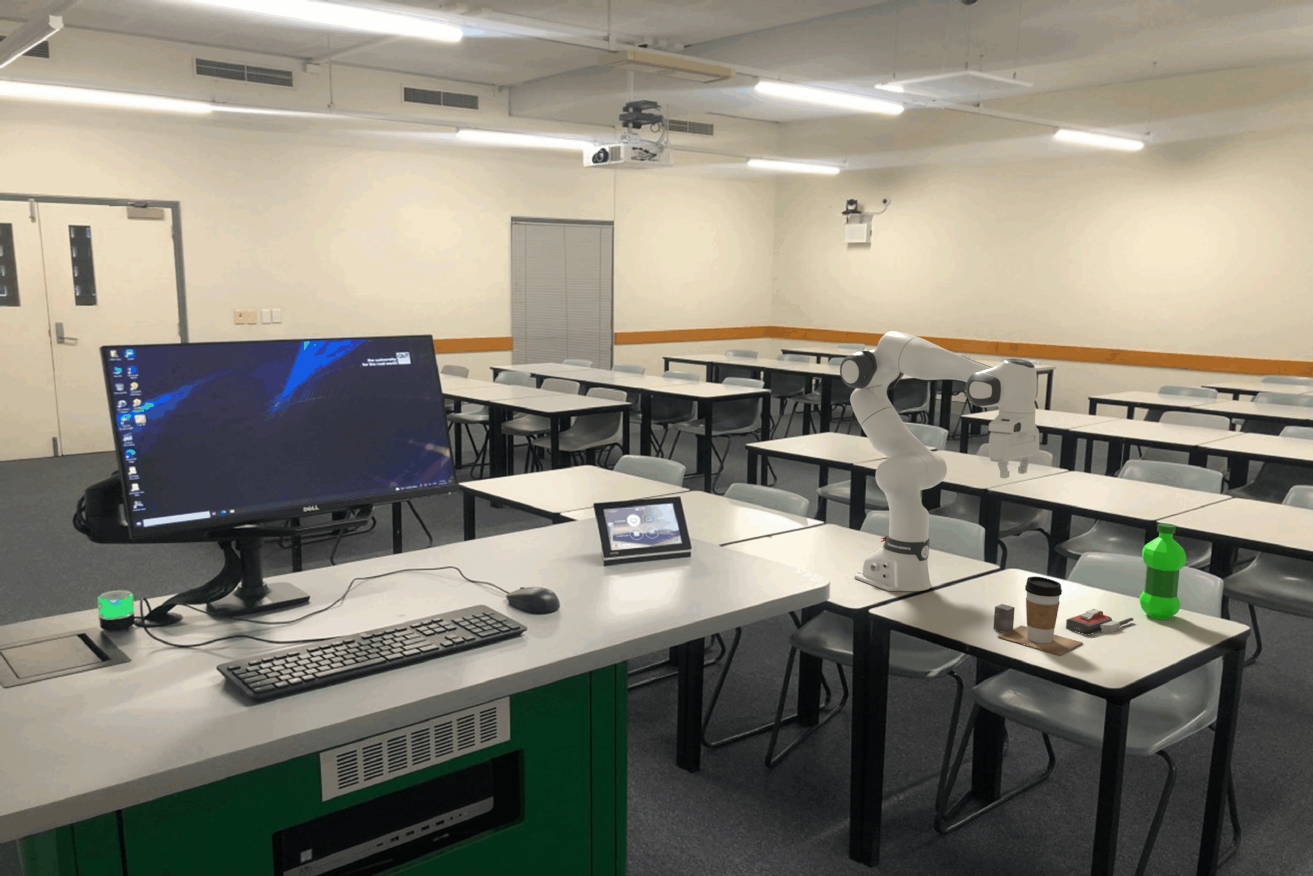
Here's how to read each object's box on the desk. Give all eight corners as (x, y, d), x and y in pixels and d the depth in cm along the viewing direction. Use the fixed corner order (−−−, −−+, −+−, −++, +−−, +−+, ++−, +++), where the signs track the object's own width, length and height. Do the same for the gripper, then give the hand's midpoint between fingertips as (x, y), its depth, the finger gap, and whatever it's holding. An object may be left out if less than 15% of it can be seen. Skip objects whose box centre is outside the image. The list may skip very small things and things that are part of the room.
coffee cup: (1030, 630, 244) (1034, 573, 242) (1063, 639, 238) (1068, 581, 236) (1015, 638, 238) (1019, 580, 236) (1049, 648, 232) (1053, 588, 230)
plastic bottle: (1141, 607, 264) (1149, 518, 260) (1184, 615, 258) (1193, 525, 254) (1132, 616, 257) (1140, 525, 253) (1175, 625, 250) (1184, 532, 246)
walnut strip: (984, 633, 243) (986, 610, 242) (1008, 622, 251) (1010, 600, 250) (1060, 655, 228) (1062, 631, 227) (1082, 643, 236) (1084, 619, 235)
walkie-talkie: (1093, 640, 240) (1135, 625, 251) (1094, 623, 239) (1137, 609, 251) (1060, 630, 247) (1104, 615, 258) (1062, 613, 246) (1105, 600, 258)
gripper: (1024, 418, 256) (1021, 469, 258) (985, 424, 242) (982, 478, 244) (1047, 420, 251) (1044, 472, 253) (1008, 427, 238) (1005, 482, 240)
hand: (1013, 475), depth 249 cm, fingers open, 8 cm apart
